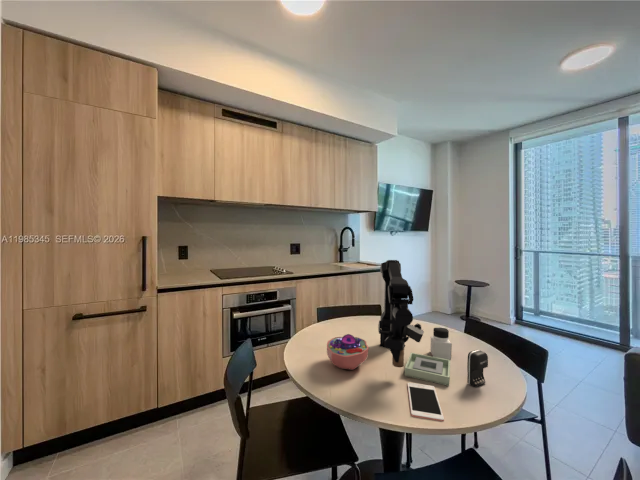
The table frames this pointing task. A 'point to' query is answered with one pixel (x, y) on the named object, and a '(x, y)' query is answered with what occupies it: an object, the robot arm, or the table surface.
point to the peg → (401, 360)
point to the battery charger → (476, 367)
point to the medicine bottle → (441, 343)
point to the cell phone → (424, 402)
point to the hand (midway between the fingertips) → (398, 359)
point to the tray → (427, 374)
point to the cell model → (347, 351)
